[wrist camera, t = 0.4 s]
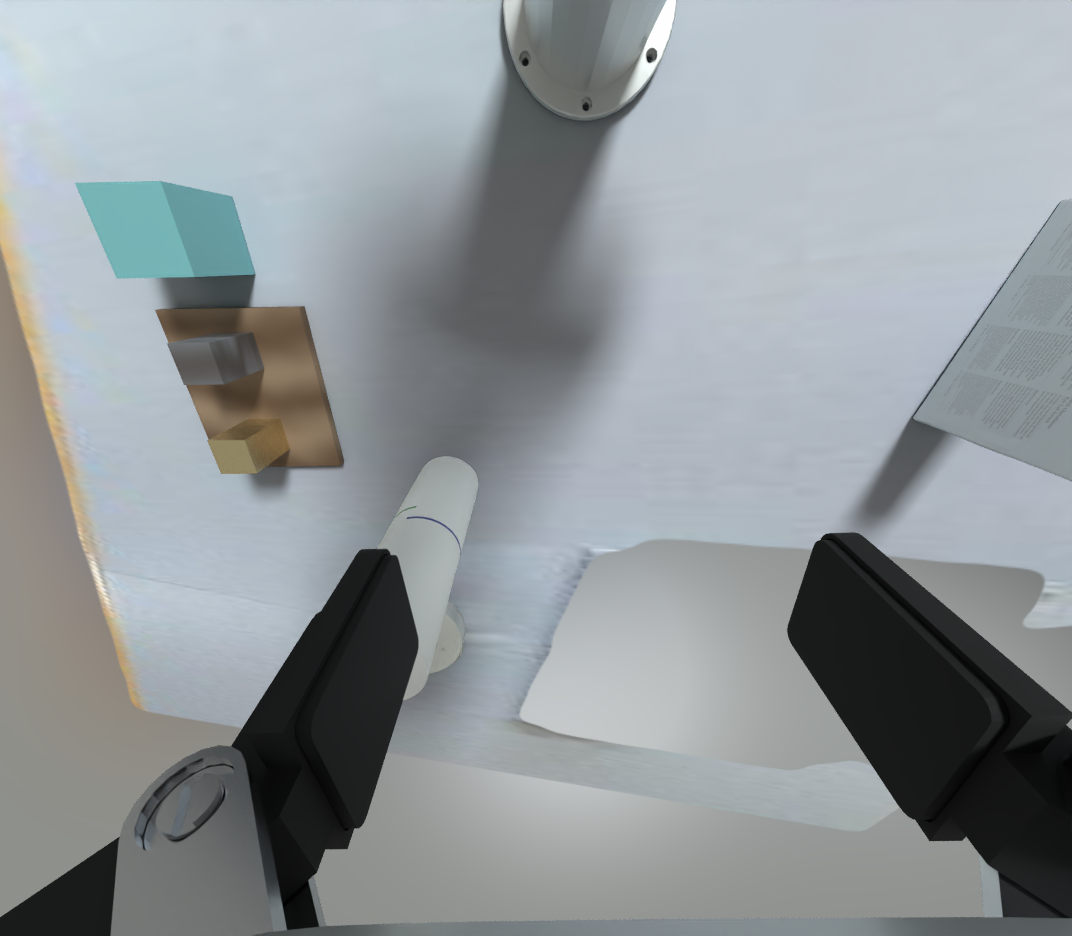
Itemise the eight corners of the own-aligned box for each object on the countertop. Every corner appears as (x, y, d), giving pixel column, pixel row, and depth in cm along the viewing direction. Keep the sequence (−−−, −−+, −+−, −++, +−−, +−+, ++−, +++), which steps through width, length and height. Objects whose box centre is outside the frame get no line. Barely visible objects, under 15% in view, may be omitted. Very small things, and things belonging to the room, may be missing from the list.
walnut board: (163, 308, 40) (94, 317, 34) (304, 306, 40) (260, 314, 34) (226, 463, 48) (178, 493, 41) (344, 461, 47) (314, 492, 41)
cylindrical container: (480, 508, 50) (434, 704, 28) (423, 508, 50) (331, 703, 28) (476, 456, 47) (420, 630, 25) (415, 456, 47) (304, 630, 25)
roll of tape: (359, 650, 63) (351, 667, 60) (362, 576, 56) (354, 591, 53) (458, 665, 64) (455, 682, 62) (473, 595, 57) (470, 610, 55)
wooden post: (247, 418, 44) (207, 440, 39) (280, 418, 44) (244, 440, 39) (258, 449, 46) (221, 473, 40) (290, 448, 46) (257, 473, 40)
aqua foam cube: (162, 198, 36) (74, 183, 29) (232, 196, 36) (160, 181, 29) (191, 275, 39) (116, 278, 32) (255, 274, 39) (194, 276, 32)
